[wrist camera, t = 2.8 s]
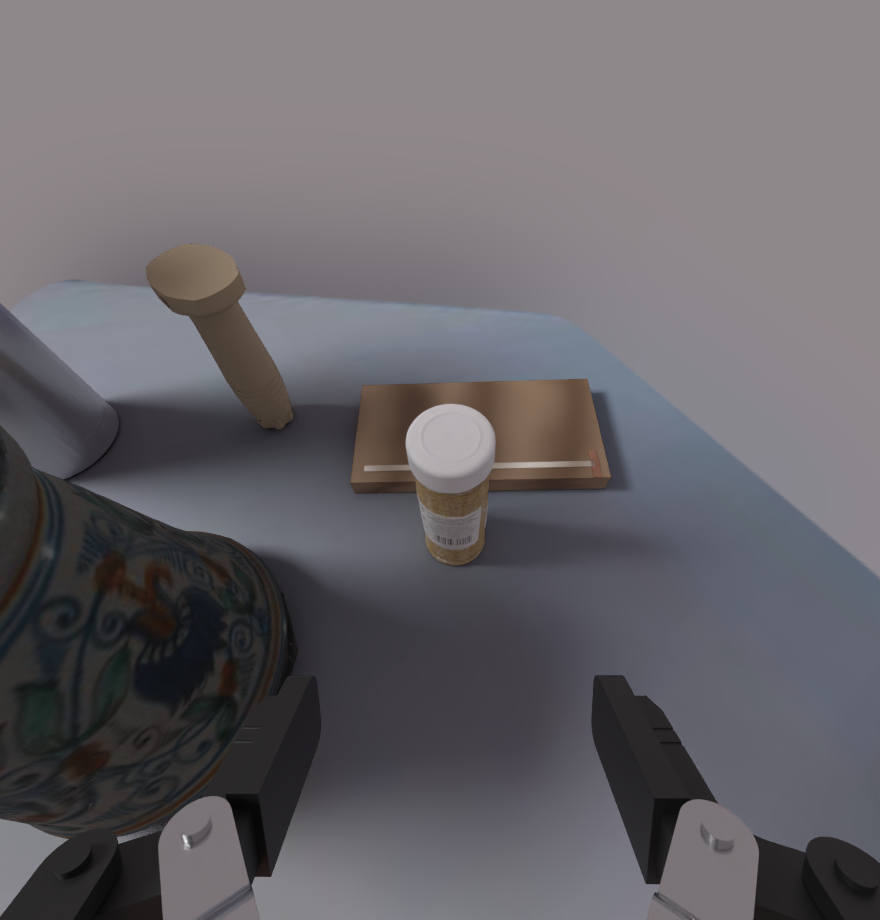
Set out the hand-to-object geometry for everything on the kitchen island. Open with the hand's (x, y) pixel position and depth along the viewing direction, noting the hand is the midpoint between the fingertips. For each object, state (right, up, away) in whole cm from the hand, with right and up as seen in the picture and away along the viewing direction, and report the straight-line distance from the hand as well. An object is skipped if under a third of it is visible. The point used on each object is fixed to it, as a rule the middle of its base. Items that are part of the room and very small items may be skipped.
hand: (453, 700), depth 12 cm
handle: (-15, +11, +28) cm, 33 cm away
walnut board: (+3, +9, +25) cm, 27 cm away
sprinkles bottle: (+1, +1, +21) cm, 21 cm away
